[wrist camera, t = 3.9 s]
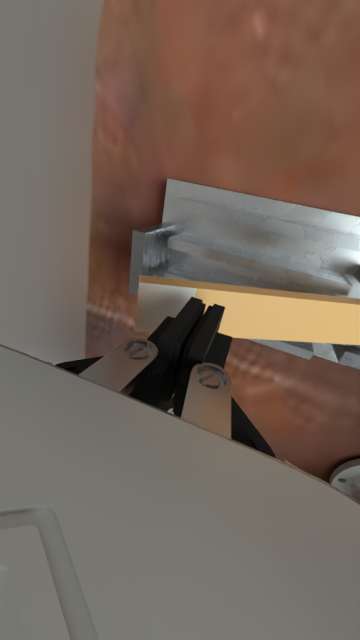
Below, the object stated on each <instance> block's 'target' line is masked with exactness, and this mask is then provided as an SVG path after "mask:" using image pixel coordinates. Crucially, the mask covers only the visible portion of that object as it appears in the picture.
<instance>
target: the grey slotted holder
mask: <svg viewBox="0 0 360 640" xmlns="http://www.w3.org/2000/svg"><path fill="white" fill-rule="evenodd" d="M139 275H143V276H152V277H162V278H171V279H180V280H189V281H199V282H208V283H217V284H227V285H236V286H245V287H255V288H264V289H273V290H283V291H292V292H301V293H310V294H320V295H329V296H338V297H348V298H357V299H360V217H358V216H353V215H348V214H343V213H338V212H333V211H328V210H323V209H318V208H313V207H308V206H303V205H298V204H293V203H288V202H283V201H278V200H274V199H269V198H264V197H259V196H254V195H249V194H244V193H239V192H234V191H229V190H224V189H219V188H214V187H209V186H204V185H199V184H194V183H189V182H184V181H179V180H174V179H168V178H167V186H166V194H165V202H164V211H163V219H162V223H160V224H156V225H151V226H147V227H143V228H139V229H135V230H133V234H132V249H131V264H130V280H129V293H131V294H134V295H137V296H138V284H139ZM245 339H247V338H245ZM248 340H251V341H254V342H258V343H261V344H264V345H267V346H270V347H273V348H276V349H279V350H282V351H285V352H288V353H291V354H294V355H297V356H300V357H303V358H306V359H309V360H310V359H311V357H312V355H316V356H319V357H322V358H325V359H328V360H331V361H334V362H337V363H340V364H343V365H348V366H351V367H354V368H357V369H360V348H358V347H356V346H354V345H349V344H332V343H315V342H298V341H281V340H264V339H248Z"/></svg>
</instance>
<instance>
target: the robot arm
mask: <svg viewBox="0 0 360 640" xmlns="http://www.w3.org/2000/svg"><path fill="white" fill-rule="evenodd" d="M205 307H206V304H204V303H203V300H201V299H198V298H194V297H191V298H190V299H189V301H188V302H187V303H186V305H185V306H184V307H183V308H182V310H181V311H180V312H179V313H178V315H177V316H176V317H175V318H173V317H170V316H167V317H166V318H165V319H164V320H163V322H162V323H161V324H160V325H159V326H158V327H157V329H156V330H155V331H154V332H153V333H152V334H151V335H150V337H149V338H148V339H147V340H146V339H140V338H135V339H130V340H127V341H125V342H123V343H122V344H120V345H119V346H118V347H116V348H115V349H113V350H112V351H111V352H109V353H108V354H107V355H105V356H101V357H95V358H88V359H82V360H76V361H70V362H64V363H60V364H57V365H52V363H50V362H45V361H42V360H40V359H37V358H35V357H32V356H30V355H28V354H25V353H23V352H20V351H17V350H14V349H12V348H8V347H6V346H3V345H0V640H360V458H359V459H354V460H351V461H349V462H346V463H344V464H342V465H340V466H339V467H337V468H336V469H335V470H334V471H333V472H332V474H331V476H330V479H329V483H327V482H325V481H323V480H322V479H320V478H317V477H315V476H313V475H311V474H309V473H307V472H305V471H302V470H300V469H299V468H297V467H296V466H294V465H292V464H291V463H289V462H288V461H286V460H284V462H283V461H281V460H279V459H276V458H275V454H274V453H273V451H272V449H271V448H270V446H269V445H268V444H267V442H266V441H265V440H264V438H263V437H262V436H261V434H260V433H259V432H258V430H257V429H256V428H255V427H254V425H253V424H252V423H251V421H250V420H249V419H248V417H247V416H246V415H245V413H244V412H243V411H242V410H241V408H240V407H239V406H238V404H237V403H236V402H235V400H234V399H233V398H232V396H231V378H230V376H229V374H228V372H226V371H225V370H224V365H225V362H226V358H227V355H228V351H229V348H230V344H231V341H232V337H231V336H228V335H225V334H222V333H219V332H218V330H219V327H220V324H221V320H222V317H223V314H224V310H225V307H224V306H221V305H217V304H214V305H213V306H211V305H209V306H208V308H207V310H206V311H205ZM204 311H205V313H204ZM174 391H175V393H174ZM173 393H174V397H173V402H172V404H174V407H173V413H174V415H173V414H171V413H168V412H166V411H164V410H161V409H159V408H156V407H154V406H157V407H160V408H161V407H162V405H163V403H164V401H166V402H169V401H170V399H171V397H172V395H173Z"/></svg>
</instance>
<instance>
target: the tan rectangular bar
mask: <svg viewBox="0 0 360 640" xmlns="http://www.w3.org/2000/svg"><path fill="white" fill-rule="evenodd" d="M191 297H194V298H198V299H201V300H203V303H204V304H206V307H205V311H206V310H207V308H208V306H209V305H211V306H213V305H214V304H217V305H221V306H224V307H225V310H224V314H223V317H222V320H221V324H220V327H219V330H218V332H219V333H222V334H225V335H228V336H231V337H232V338H247V339H264V340H281V341H298V342H315V343H332V344H349V345H354V346H356V347H358V348H360V299H357V298H348V297H338V296H329V295H320V294H310V293H301V292H292V291H283V290H273V289H264V288H255V287H245V286H236V285H227V284H217V283H208V282H199V281H189V280H180V279H171V278H162V277H152V276H143V275H139V284H138V296H137V307H136V319H135V332H146V333H153V332H154V331H155V330H156V329H157V327H158V326H159V325H160V324H161V323H162V322H163V320H164V319H165V318H166V317H167V316H170V317H173V318H175V317H176V316H177V315H178V313H179V312H180V311H181V310H182V308H183V307H184V306H185V305H186V303H187V302H188V301H189V299H190V298H191ZM205 311H204V313H205Z"/></svg>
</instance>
